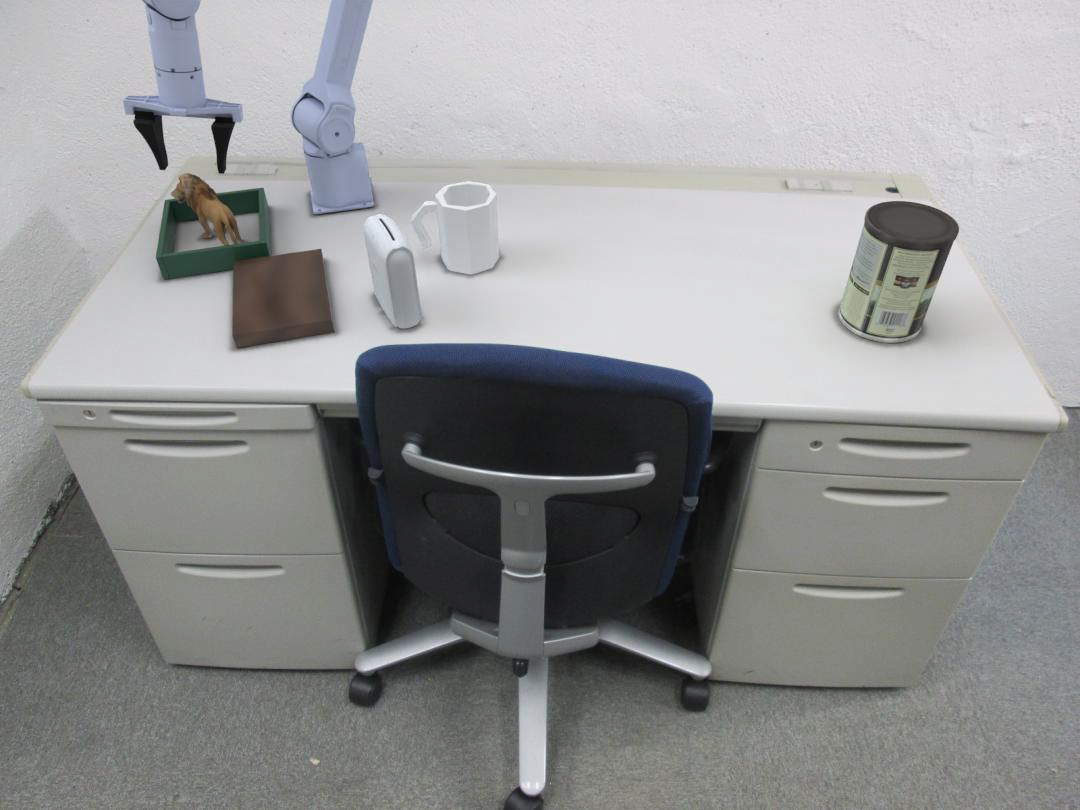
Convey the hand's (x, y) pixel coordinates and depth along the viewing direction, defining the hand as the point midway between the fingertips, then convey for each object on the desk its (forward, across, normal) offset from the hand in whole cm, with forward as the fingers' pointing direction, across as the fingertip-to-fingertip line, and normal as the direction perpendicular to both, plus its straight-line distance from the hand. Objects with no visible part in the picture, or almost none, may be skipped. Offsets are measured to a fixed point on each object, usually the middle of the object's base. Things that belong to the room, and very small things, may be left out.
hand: (193, 169), depth 110 cm
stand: (+11, +13, -17) cm, 24 cm away
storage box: (+11, +2, 0) cm, 11 cm away
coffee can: (+2, +89, -33) cm, 95 cm away
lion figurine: (+11, +2, 0) cm, 11 cm away
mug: (+7, +37, -10) cm, 39 cm away
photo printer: (+9, +28, -21) cm, 37 cm away
